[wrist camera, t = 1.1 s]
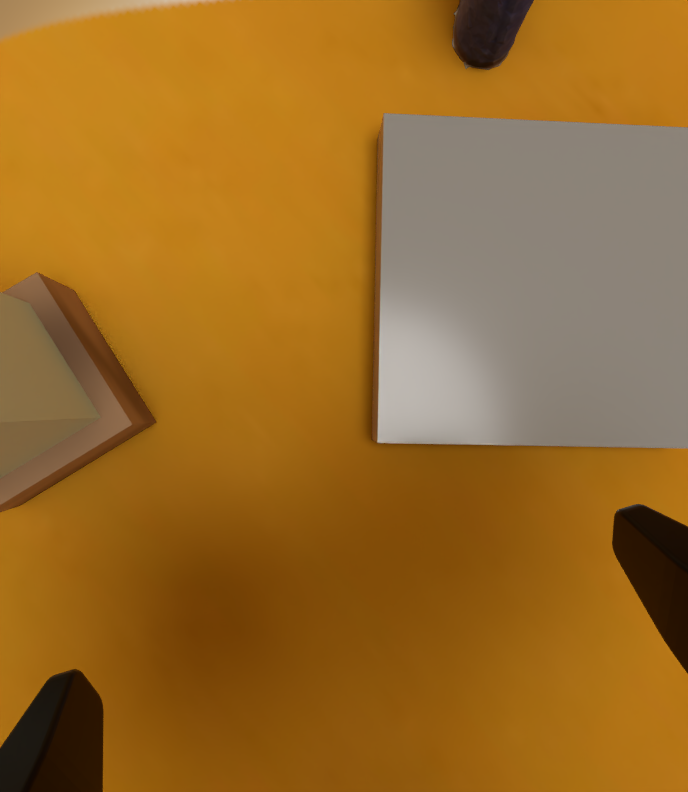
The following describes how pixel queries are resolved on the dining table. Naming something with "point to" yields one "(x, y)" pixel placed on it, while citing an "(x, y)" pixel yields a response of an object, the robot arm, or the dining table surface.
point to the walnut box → (98, 380)
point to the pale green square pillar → (34, 389)
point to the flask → (487, 30)
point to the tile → (530, 283)
